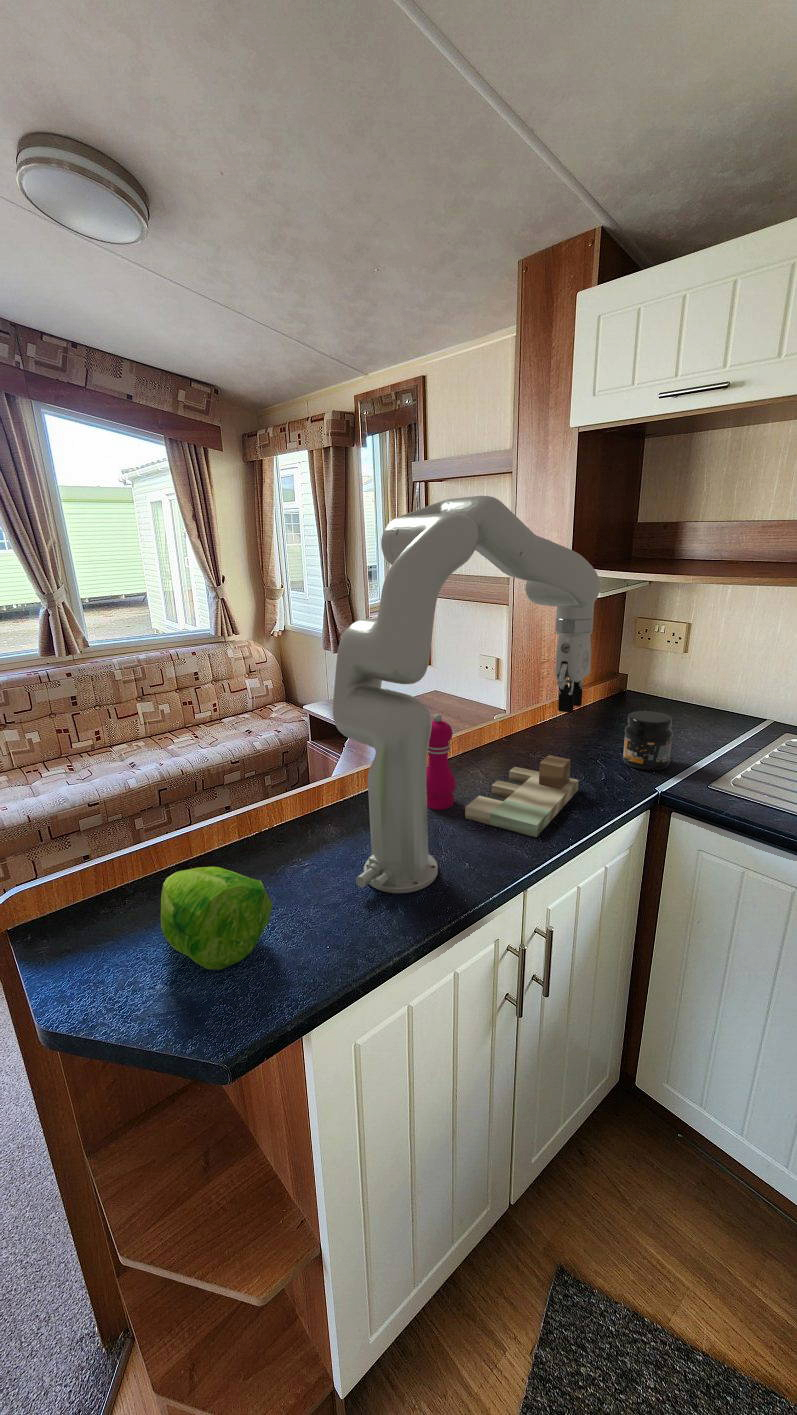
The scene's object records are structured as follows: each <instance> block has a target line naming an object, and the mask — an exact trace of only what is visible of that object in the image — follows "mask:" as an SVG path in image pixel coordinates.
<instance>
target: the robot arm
mask: <svg viewBox="0 0 797 1415" xmlns="http://www.w3.org/2000/svg"><path fill="white" fill-rule="evenodd" d="M380 541H381V542H380V545H381V551H382V554H383V556H384V558H385V560H386V561H387V562H388V563H389V564H390V565H391V567H390V568H389V570H388V572H387V574H386V576H385V578H384V581H383V584H382V589H381V594H380V600H379V601H380V602H379V608H378V615H377V618H362V619H358V620H357V621H354V622H353V623H352V624H350V625H349V626H348V627H347V628H346V630H345V631H344V632H343V634H342V636H341V638H340V641H339V644H338V648H337V653H336V665H335V673H334V676H335V677H334V688H333V698H332V701H333V702H332V718H333V721H334V725H335V727H336V728H337V730H338V731H339V733H340V734H342V735H343V736H344V737H346V738H348V739H350V740H353V741H356V742H358V743H360V744H363V745H367V746H368V747H370V748H373V749H374V750H375V755H374V758H373V760H372V761H371V764H370V766H369V769H368V773H367V791H368V807H369V808H368V809H369V825H370V827H369V829H370V845H371V855H370V856H369V857H368V859H367V860H366V861H365V864H364V865H363V872H362V873H360V874H359V875H358V876H356V878H355V883H356V885H357V886H358V887H359V888H365V887H366V886H367V885H370V887H373V888H375V889H376V890H379V891H380V892H381V891H382V892H384V893H390V894H408V893H413V892H417V891H421V890H422V889H425V888H426V887H429V886H430V885H431V884H433V882H435V880H436V878H437V876H438V873H439V872H438V871H439V870H438V868H439V867H438V862H437V860H436V859H435V858H434V856H432V855H431V854H429V837H428V836H429V835H428V834H429V833H428V832H429V829H428V827H429V826H428V807H427V785H426V769H427V765H428V764H427V758H428V745H429V740H430V735H431V728H432V721H433V719H432V716H431V712H430V711H429V709H428V707H427V706H426V705H425V704H424V703H423V701H421V700H420V699H418V698H417V697H414V696H412V695H410V694H407V693H403V692H399V691H395V690H391V689H388V688H387V689H386V688H382V683H383V682H388V683H392V684H399V685H414V684H417V683H418V682H420V681H421V680H422V679H423V678H424V677H425V674H426V673H427V670H428V666H429V663H430V655H431V649H432V639H433V630H434V621H435V613H436V606H437V601H438V597H439V594H440V591H441V590H442V588H443V586H444V584H445V583H446V581H447V580H448V579H449V578H450V577H451V575H452V574H453V573H454V572H456V571H457V570H458V569H459V568H461V567H462V566H463V565H464V564H466V563H467V562H468V561H469V560H470V559H471V557H473V555H474V553H475V552H478V553H479V554H480V555H481V556H482V557H484V558H485V559H486V560H488V561H489V562H490V563H491V564H493V565H494V566H495V567H496V568H497V569H499V571H501V572H502V573H503V574H505V575H507V576H509V577H513V578H516V579H518V580H522V581H526V582H525V586H524V588H525V590H524V591H525V594H526V596H527V599H529V601H530V602H532V603H533V604H535V605H539V606H547V607H548V606H549V607H556V614H555V616H556V617H555V634H557V635H558V636H557V644H556V645H557V646H556V654H555V665H554V666H555V671H554V672H555V679H556V680H557V681H556V684H557V685H556V686H557V688H558V698H557V699H558V700H557V701H558V703H557V710H558V712H562V713H569V714H572V713H573V712H574V706H575V707H581V706H583V701H582V700H583V688H584V687H583V686H584V679H585V678H586V677H587V676H589V675H590V673H591V669H592V667H591V666H592V665H591V664H592V663H591V662H592V658H591V657H592V641H591V640H592V639H591V638H592V637H591V635H592V634H593V629H594V627H593V626H594V612H595V611H594V610H595V602H596V601H597V599H598V597H599V595H600V591H601V582H600V581H601V580H600V577H599V574H598V573H597V571H596V569H595V567H593V565H592V564H590V562H589V561H588V560H587V559H586V558H585V557H584V556H582V555H581V554H580V553H578V552H576V551H575V550H572V549H570V548H569V547H566V546H563V545H561V544H559V543H556V542H554V541H552V540H549V539H548V538H547V539H546V538H545V537H542V536H539V535H537V534H535V533H534V532H533V531H532V530H531V529H530V528H529V527H528V526H527V525H525V523H524V522H523V521H522V520H521V519H520V518H519V517H518V516H517V515H516V514H515V513H513V511H512V510H510V509H509V507H507V506H506V505H505V504H504V503H503V502H502V501H501V500H500V499H498V498H496V497H494V496H490V495H475V496H467V497H466V496H465V497H457V498H456V497H454V498H449V499H445V500H442V501H438V502H435V503H433V504H432V503H431V504H430V505H427V506H424V507H422V508H418V509H417V510H413V511H411V512H408V513H405V514H401V515H399V516H397V517H394V518H393V519H392V520H391V521H390V522H389V523H388V524H387V525H385V528H384V531H383V532H382V535H381V540H380ZM567 678H568V679H567Z"/></svg>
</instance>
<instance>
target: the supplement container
mask: <svg viewBox="0 0 797 1415" xmlns="http://www.w3.org/2000/svg"><path fill="white" fill-rule="evenodd" d="M672 723H673V719H672V717H671V716H670V715H668V714H665V713H662V712H657V711H648V710H647V711H646V710H640V711H633V712H631V713H629V714H628V715H627V725H626V726H625V727H624V743H623V753H622V754H623V755H622V759H623V762H624V763H625V764H626V765H627V766H629V767H631V768H634V769H636V770H641V771H649V772H654V771H661V770H664V769H666V768H667V767H668V766H669V765H670V763H671V762H670V761H671V760H670V757H671V749H672V740H673V737H674V736H673V735H674V732H673V730H672V729H671V727H672Z"/></svg>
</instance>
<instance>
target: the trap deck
mask: <svg viewBox="0 0 797 1415" xmlns="http://www.w3.org/2000/svg"><path fill="white" fill-rule="evenodd" d="M578 791H579V779H575V778H571V777H570V780H569V782H568V783H567V784H566V785H565V786H564V787H563V788H562V789H558V788H553V787H549V786H544V785H540V784H539V770H532V769H528V768H522V767H518V766H514V767H512V768H511V769H510V770H508V779H507V780H506V781H503V780H496V781H495V782H494V783H492V785H491V794H489V795H488V796H483V795H478V796H477V797H476V798H474V799H473V800H471V802H469V803H468V804H467V805H466V806H465V807H464V808H465V809H464V810H465V811H464V814H465V819H468V820H472V821H476V822H479V823H483V824H486V825H490V826H494V827H497V828H500V829H501V828H502V829H504V830H508V831H513V832H515V833H519V834H523V835H525V836H530V837H534V838H537V837H538V836H539V835H540V834H541V833H542V832H543V831H544V829H545V828H546V827H547V826H548V825H549V824H550V823H551V821H552V820H553V819H554V818H555V817H556V816H557V815H558V814H559V812H560V811H561V810H562V809H563V808H564V806H566V805H567V803H569V801H570V800H571V799H572V798H573V796H574V795H575V794H576V793H577V792H578Z"/></svg>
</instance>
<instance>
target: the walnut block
mask: <svg viewBox="0 0 797 1415" xmlns="http://www.w3.org/2000/svg"><path fill="white" fill-rule="evenodd" d="M538 772H539V784H540V785H544V786H549V787H553V788H558V789H562V788H563V787H564V786H565V785H566V784H567V783H568V782H569V780H570V778H571V777H570V776H571V759H569V758H565V757H560V756H559V757H558V756H553V755H547V756H545V758H543V760H541V761H540V762H539V770H538Z"/></svg>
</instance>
